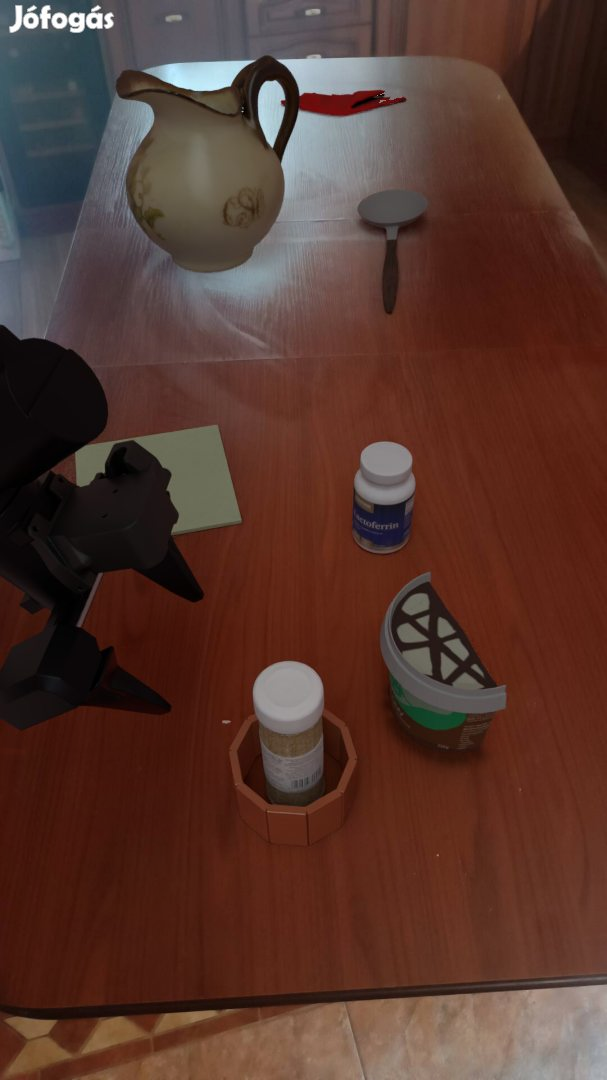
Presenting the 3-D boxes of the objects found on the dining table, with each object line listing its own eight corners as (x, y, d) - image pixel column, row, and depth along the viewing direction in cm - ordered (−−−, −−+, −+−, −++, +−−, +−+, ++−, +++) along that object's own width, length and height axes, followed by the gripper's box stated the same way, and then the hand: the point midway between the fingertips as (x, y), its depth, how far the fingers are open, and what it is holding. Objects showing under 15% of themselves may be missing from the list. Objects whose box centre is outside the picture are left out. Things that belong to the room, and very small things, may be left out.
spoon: (427, 205, 129) (427, 187, 127) (430, 320, 107) (430, 301, 105) (360, 210, 131) (358, 192, 129) (349, 324, 109) (347, 305, 107)
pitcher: (112, 279, 116) (73, 89, 98) (177, 211, 132) (153, 36, 114) (257, 299, 111) (244, 103, 93) (307, 226, 127) (304, 46, 109)
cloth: (272, 114, 162) (272, 102, 161) (286, 92, 172) (286, 80, 170) (401, 120, 159) (401, 107, 157) (407, 97, 168) (408, 85, 166)
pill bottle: (344, 548, 77) (346, 470, 70) (360, 509, 81) (363, 432, 74) (402, 561, 76) (410, 483, 69) (416, 521, 80) (424, 443, 73)
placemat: (80, 551, 78) (79, 548, 78) (75, 450, 89) (74, 446, 89) (242, 523, 80) (241, 519, 80) (218, 427, 91) (217, 424, 91)
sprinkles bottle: (317, 754, 62) (314, 651, 53) (331, 809, 59) (331, 710, 49) (259, 767, 62) (246, 665, 52) (271, 823, 58) (259, 725, 49)
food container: (352, 665, 68) (354, 588, 61) (417, 644, 69) (427, 566, 62) (416, 792, 60) (428, 721, 53) (489, 765, 61) (510, 691, 54)
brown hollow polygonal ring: (248, 860, 57) (242, 829, 53) (227, 747, 63) (221, 712, 59) (367, 831, 58) (370, 799, 54) (336, 723, 64) (336, 688, 60)
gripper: (9, 582, 35) (247, 749, 43) (130, 347, 48) (296, 509, 55) (-116, 655, 41) (113, 791, 48) (21, 428, 54) (185, 565, 61)
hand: (184, 651), depth 53 cm, fingers open, 9 cm apart
